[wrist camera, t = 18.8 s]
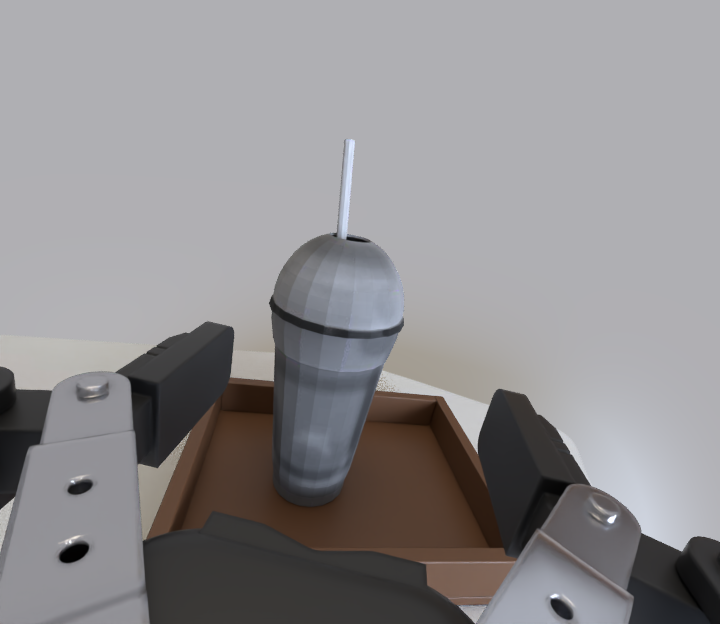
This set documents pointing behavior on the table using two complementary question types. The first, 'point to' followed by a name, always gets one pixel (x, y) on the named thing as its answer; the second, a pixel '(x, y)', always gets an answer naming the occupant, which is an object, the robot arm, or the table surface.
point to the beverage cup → (329, 353)
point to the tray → (352, 488)
